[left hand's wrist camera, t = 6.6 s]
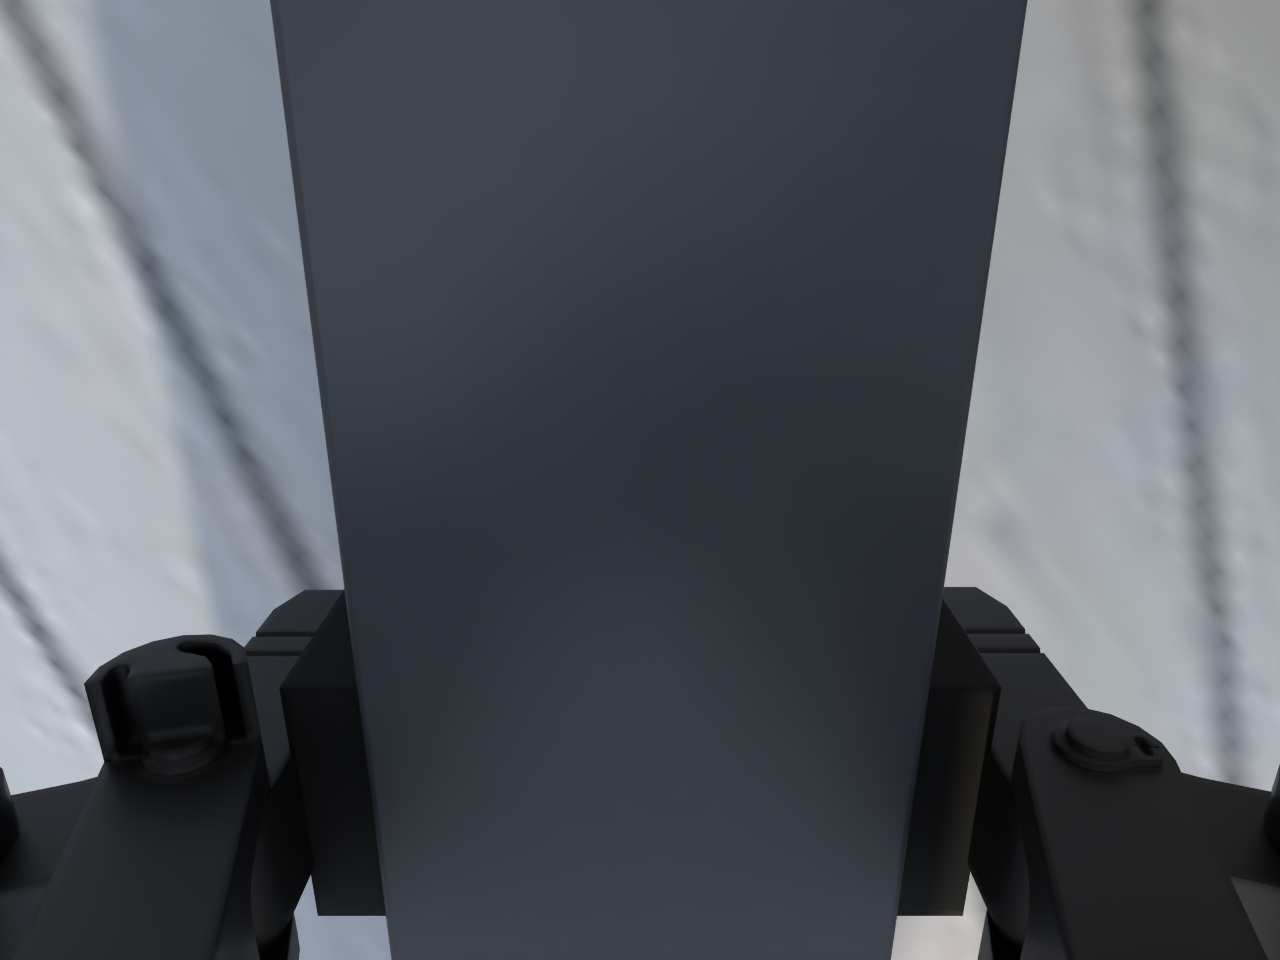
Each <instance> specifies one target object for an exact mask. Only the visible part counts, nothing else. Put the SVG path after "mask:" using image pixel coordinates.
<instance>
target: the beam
mask: <svg viewBox="0 0 1280 960" xmlns="http://www.w3.org/2000/svg"><path fill="white" fill-rule="evenodd" d="M270 3H271V11H272V19H273V27H274V35H275V43H276V51H277V59H278V67H279V75H280V82H281V90H282V98H283V106H284V114H285V122H286V130H287V138H288V146H289V153H290V161H291V169H292V177H293V185H294V193H295V201H296V209H297V217H298V224H299V232H300V240H301V248H302V256H303V264H304V272H305V280H306V288H307V295H308V303H309V311H310V319H311V327H312V335H313V343H314V351H315V359H316V367H317V374H318V382H319V390H320V398H321V406H322V414H323V422H324V430H325V438H326V445H327V453H328V461H329V469H330V477H331V485H332V493H333V501H334V509H335V516H336V524H337V532H338V540H339V548H340V556H341V564H342V572H343V580H344V587H345V595H346V603H347V611H348V619H349V627H350V635H351V643H352V651H353V659H354V666H355V674H356V682H357V690H358V698H359V706H360V714H361V722H362V730H363V737H364V745H365V753H366V761H367V769H368V777H369V785H370V793H371V801H372V808H373V816H374V824H375V832H376V840H377V848H378V856H379V864H380V872H381V879H382V887H383V895H384V903H385V911H386V919H387V927H388V935H389V943H390V951H391V958H392V960H891V954H892V947H893V940H894V933H895V926H896V919H897V912H898V905H899V898H900V891H901V884H902V877H903V870H904V862H905V855H906V848H907V841H908V834H909V827H910V820H911V813H912V806H913V799H914V792H915V785H916V778H917V771H918V764H919V757H920V750H921V743H922V736H923V729H924V722H925V715H926V708H927V701H928V694H929V687H930V680H931V673H932V666H933V659H934V652H935V645H936V638H937V631H938V624H939V617H940V610H941V603H942V596H943V589H944V582H945V575H946V568H947V561H948V554H949V547H950V540H951V533H952V526H953V519H954V512H955V505H956V498H957V491H958V484H959V477H960V470H961V463H962V456H963V449H964V442H965V434H966V427H967V420H968V413H969V406H970V399H971V392H972V385H973V378H974V371H975V364H976V357H977V350H978V343H979V336H980V329H981V322H982V315H983V308H984V301H985V294H986V287H987V280H988V273H989V266H990V259H991V252H992V245H993V238H994V231H995V224H996V217H997V210H998V203H999V196H1000V189H1001V182H1002V175H1003V168H1004V161H1005V154H1006V147H1007V140H1008V133H1009V126H1010V119H1011V112H1012V105H1013V98H1014V91H1015V84H1016V77H1017V70H1018V63H1019V56H1020V49H1021V42H1022V35H1023V28H1024V21H1025V13H1026V6H1027V0H270Z"/></svg>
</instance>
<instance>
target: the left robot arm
mask: <svg viewBox="0 0 1280 960" xmlns="http://www.w3.org/2000/svg"><path fill="white" fill-rule="evenodd" d="M84 685H85V689H86V693H87V697H88V701H89V705H90V708H91V712H92V716H93V720H94V724H95V727H96V731H97V735H98V739H99V743H100V747H101V750H102V754H103V758H104V764H103V766H102V768H101V770H100V773H99V775H98V777H95V778H91V779H88V780H84V781H80V782H75V783H70V784H65V785H60V786H55V787H51V788H46V789H41V790H36V791H31V792H26V793H21V794H16V795H10V791H9V788H8V785H7V782H6V779H5V775H4V772H3V769H2V768H1V767H0V960H299V952H300V947H299V940H298V934H297V928H296V922H295V917H294V911H295V908H296V906H297V904H298V902H299V899H300V897H301V895H302V893H303V891H304V888H305V886H306V884H307V882H308V879H309V877H310V875H311V878H312V883H313V889H314V895H315V901H316V907H317V913H318V916H386V911H385V903H384V895H383V887H382V879H381V872H380V864H379V856H378V848H377V840H376V832H375V824H374V816H373V808H372V801H371V793H370V785H369V777H368V769H367V761H366V753H365V745H364V737H363V730H362V722H361V714H360V706H359V698H358V690H357V682H356V674H355V666H354V659H353V651H352V643H351V635H350V627H349V619H348V611H347V603H346V595H345V589H344V590H304V591H303V592H301V593H300V594H298V595H296V596H295V597H293V598H292V599H290V600H288V601H287V602H285V603H284V604H282V605H280V606H279V607H277V608H276V609H274V610H273V611H272V613H271V614H270V615H269V617H268V618H267V619H266V620H265V622H264V623H263V624H262V626H261V627H260V628H259V629H258V631H257V632H256V637H252V638H251V640H250V641H249V642H248V643H247V645H246V646H245V647H242V646H241V645H240V644H238V643H237V642H236V641H234V640H233V639H230V638H225V637H220V636H216V635H182V636H178V637H173V638H168V639H163V640H158V641H153V642H150V643H148V644H145V645H142V646H140V647H137V648H134V649H132V650H129V651H126V652H124V653H122V654H120V655H119V656H117V657H115V658H114V659H112V660H110V661H109V662H107V663H105V664H104V665H102V666H100V667H99V668H98V669H97V670H96V671H95V672H94V673H93V674H92V676H91V677H90V678H89V679H88V680H87V681H86V682H85V683H84ZM970 871H971V874H972V876H973V878H974V880H975V882H976V885H977V887H978V889H979V891H980V893H981V896H982V898H983V900H984V902H985V905H986V907H987V911H986V917H985V922H984V928H983V933H982V939H981V944H980V950H979V955H978V960H1280V765H1279V769H1278V772H1277V775H1276V778H1275V781H1274V784H1273V788H1272V791H1271V792H1269V791H1264V790H1259V789H1254V788H1249V787H1244V786H1239V785H1235V784H1230V783H1225V782H1220V781H1215V780H1210V779H1205V778H1200V777H1197V776H1193V775H1189V774H1185V773H1181V771H1180V769H1179V767H1178V765H1177V762H1176V760H1175V759H1174V758H1173V757H1172V755H1171V754H1170V753H1169V751H1168V750H1167V749H1166V748H1165V746H1164V745H1163V744H1162V743H1161V742H1160V741H1159V740H1157V739H1156V738H1154V737H1153V736H1152V735H1150V734H1149V733H1147V732H1146V731H1144V730H1143V729H1142V728H1140V727H1139V726H1136V725H1134V724H1132V723H1130V722H1127V721H1125V720H1123V719H1120V718H1118V717H1116V716H1113V715H1111V714H1107V713H1103V712H1099V711H1095V710H1090V709H1088V708H1087V707H1086V706H1085V705H1084V703H1083V702H1082V701H1081V700H1080V698H1079V697H1078V696H1077V695H1076V693H1075V692H1074V691H1073V689H1072V688H1071V687H1070V686H1069V684H1068V683H1067V682H1066V681H1065V679H1064V678H1063V677H1062V676H1061V674H1060V673H1059V672H1058V670H1057V669H1056V668H1055V667H1054V665H1053V664H1052V663H1051V662H1050V660H1049V659H1048V658H1047V657H1046V655H1045V654H1044V653H1040V648H1039V646H1038V645H1037V644H1036V643H1035V641H1034V640H1033V639H1032V637H1031V636H1030V635H1029V634H1025V629H1024V627H1023V626H1022V625H1021V624H1020V622H1019V621H1018V620H1017V618H1016V617H1015V616H1014V615H1013V613H1012V612H1011V611H1010V610H1009V608H1008V607H1007V606H1005V605H1004V604H1002V603H1001V602H999V601H997V600H996V599H994V598H992V597H991V596H989V595H988V594H986V593H984V592H983V591H981V590H980V589H978V588H976V587H944V589H943V596H942V603H941V610H940V617H939V624H938V631H937V638H936V645H935V652H934V659H933V666H932V673H931V680H930V687H929V694H928V701H927V708H926V715H925V722H924V729H923V736H922V743H921V750H920V757H919V764H918V771H917V778H916V785H915V792H914V799H913V806H912V813H911V820H910V827H909V834H908V841H907V848H906V855H905V862H904V870H903V877H902V884H901V891H900V898H899V905H898V912H897V916H963V911H964V905H965V899H966V893H967V887H968V881H969V876H970Z"/></svg>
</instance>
